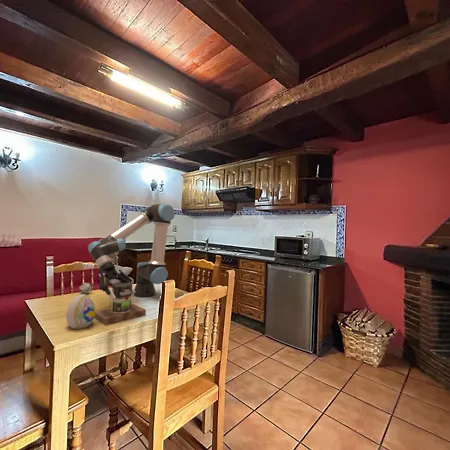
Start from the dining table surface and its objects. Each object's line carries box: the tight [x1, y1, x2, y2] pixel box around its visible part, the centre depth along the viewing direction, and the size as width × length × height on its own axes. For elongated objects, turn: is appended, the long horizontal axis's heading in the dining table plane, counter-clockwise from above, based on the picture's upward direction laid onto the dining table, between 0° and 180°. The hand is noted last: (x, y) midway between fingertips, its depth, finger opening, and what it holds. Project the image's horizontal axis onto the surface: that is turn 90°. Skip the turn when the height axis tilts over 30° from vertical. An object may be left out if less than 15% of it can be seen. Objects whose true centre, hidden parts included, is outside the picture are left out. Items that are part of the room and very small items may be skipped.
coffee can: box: [110, 282, 133, 314], centre depth 140 cm, size 10×10×14 cm
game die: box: [77, 281, 93, 295], centre depth 179 cm, size 9×8×10 cm
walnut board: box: [94, 303, 147, 326], centre depth 139 cm, size 22×14×3 cm, turn 138°
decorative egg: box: [65, 293, 96, 330], centre depth 125 cm, size 12×12×15 cm
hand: (124, 296), depth 139 cm, fingers open, 13 cm apart
